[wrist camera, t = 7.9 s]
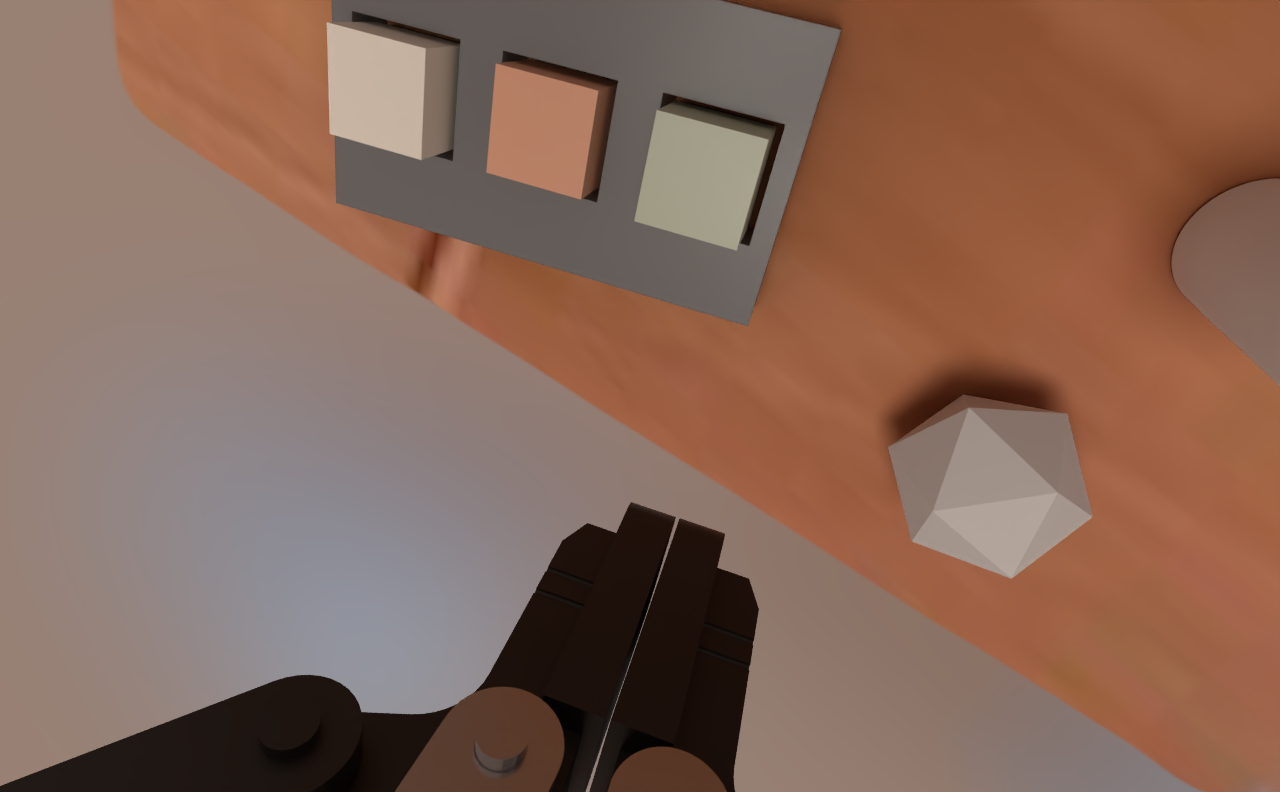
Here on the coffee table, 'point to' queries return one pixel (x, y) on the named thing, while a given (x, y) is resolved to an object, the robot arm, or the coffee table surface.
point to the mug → (1236, 268)
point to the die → (991, 482)
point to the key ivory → (392, 88)
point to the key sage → (703, 173)
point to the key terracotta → (550, 126)
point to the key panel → (647, 80)
